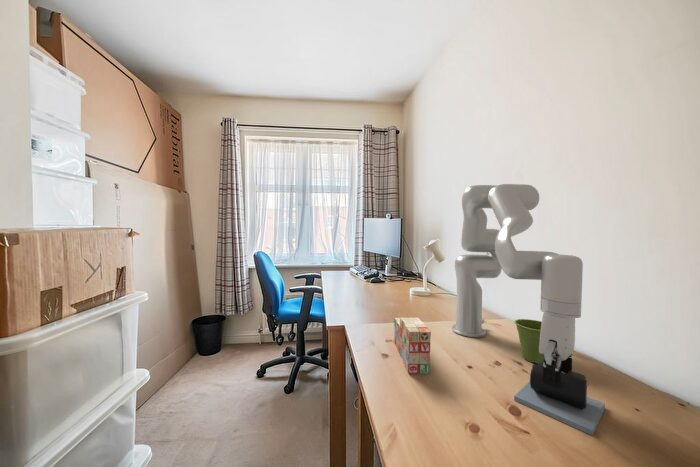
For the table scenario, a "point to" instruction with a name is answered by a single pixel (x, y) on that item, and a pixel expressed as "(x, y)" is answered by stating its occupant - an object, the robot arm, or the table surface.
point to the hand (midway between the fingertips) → (557, 378)
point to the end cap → (569, 392)
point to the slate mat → (563, 409)
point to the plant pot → (530, 339)
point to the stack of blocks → (413, 344)
